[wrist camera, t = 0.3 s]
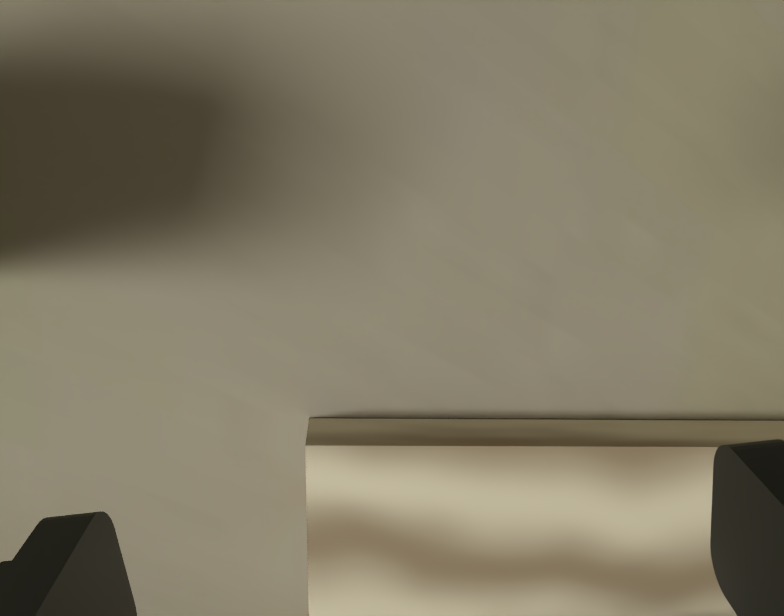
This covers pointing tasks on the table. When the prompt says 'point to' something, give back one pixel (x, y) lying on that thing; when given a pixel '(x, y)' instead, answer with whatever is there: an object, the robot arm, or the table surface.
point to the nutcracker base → (515, 516)
